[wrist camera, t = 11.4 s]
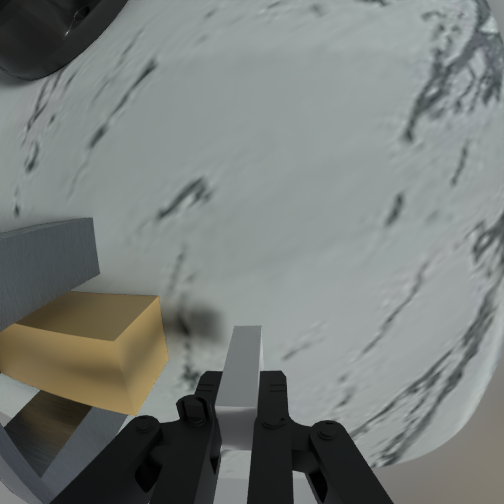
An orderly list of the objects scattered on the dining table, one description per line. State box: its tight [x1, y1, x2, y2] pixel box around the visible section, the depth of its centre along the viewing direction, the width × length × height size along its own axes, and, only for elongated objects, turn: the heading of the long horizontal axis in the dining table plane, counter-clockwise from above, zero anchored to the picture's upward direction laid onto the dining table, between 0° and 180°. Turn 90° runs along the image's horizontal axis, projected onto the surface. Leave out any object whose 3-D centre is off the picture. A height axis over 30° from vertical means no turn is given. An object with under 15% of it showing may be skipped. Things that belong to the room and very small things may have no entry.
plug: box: [0, 291, 169, 416], centre depth 15 cm, size 5×18×10 cm, turn 92°
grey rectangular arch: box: [0, 218, 128, 504], centre depth 13 cm, size 16×6×14 cm, turn 3°
